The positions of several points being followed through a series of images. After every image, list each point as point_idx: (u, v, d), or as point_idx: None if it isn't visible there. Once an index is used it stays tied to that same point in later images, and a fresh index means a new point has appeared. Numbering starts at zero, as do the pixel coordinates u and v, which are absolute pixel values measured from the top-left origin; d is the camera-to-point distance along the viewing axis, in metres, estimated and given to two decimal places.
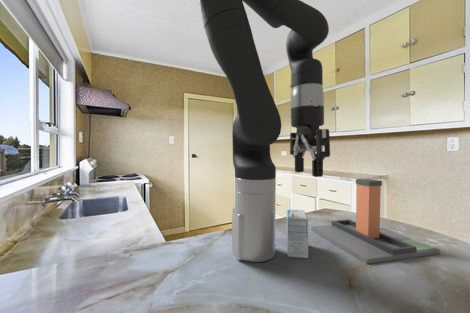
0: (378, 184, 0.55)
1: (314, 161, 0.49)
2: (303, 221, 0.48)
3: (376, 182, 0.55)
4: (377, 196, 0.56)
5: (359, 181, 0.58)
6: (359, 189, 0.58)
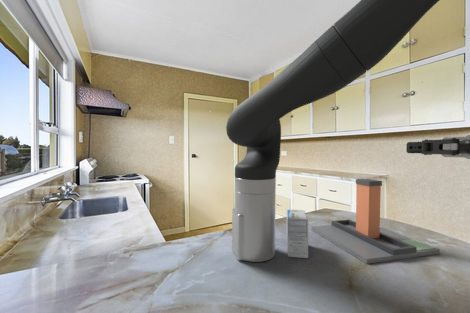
0: (378, 184, 0.55)
1: None
2: (303, 221, 0.48)
3: (376, 182, 0.55)
4: (377, 196, 0.56)
5: (359, 181, 0.58)
6: (359, 189, 0.58)
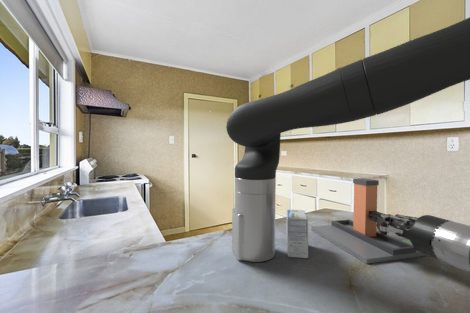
0: (375, 183, 0.56)
1: (380, 215, 0.53)
2: (303, 221, 0.48)
3: (373, 181, 0.56)
4: (373, 196, 0.57)
5: (356, 181, 0.59)
6: (357, 188, 0.59)
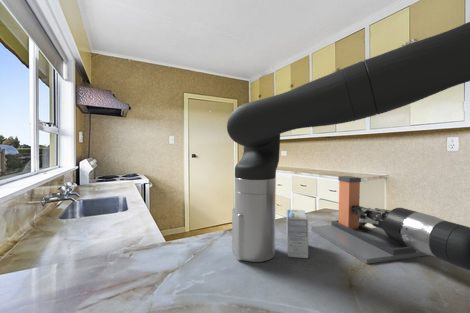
0: (357, 180, 0.62)
1: (361, 209, 0.59)
2: (303, 221, 0.48)
3: (355, 179, 0.62)
4: (356, 192, 0.62)
5: (341, 178, 0.64)
6: (341, 185, 0.64)
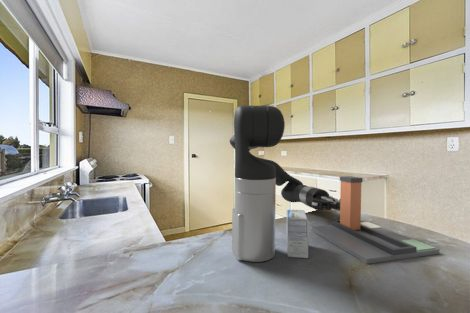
0: (359, 181, 0.61)
1: (337, 209, 0.69)
2: (303, 221, 0.48)
3: (357, 179, 0.61)
4: (358, 192, 0.62)
5: (342, 178, 0.64)
6: (343, 185, 0.64)
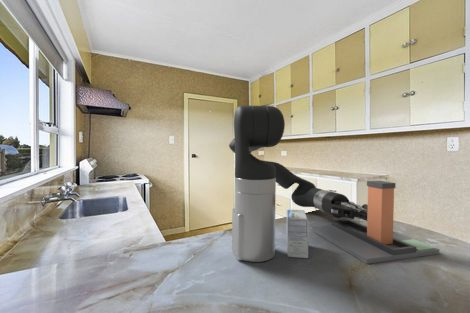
0: (391, 186, 0.52)
1: (362, 218, 0.59)
2: (303, 221, 0.48)
3: (389, 184, 0.52)
4: (390, 200, 0.52)
5: (371, 183, 0.54)
6: (371, 192, 0.54)
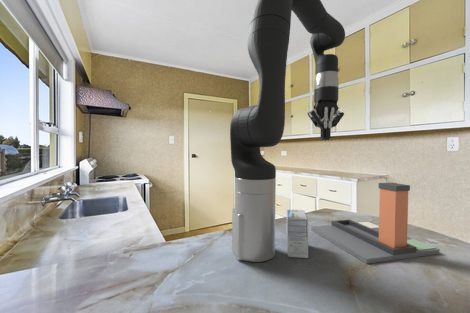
0: (406, 189, 0.49)
1: None
2: (303, 221, 0.48)
3: (403, 187, 0.48)
4: (404, 203, 0.49)
5: (383, 185, 0.51)
6: (383, 194, 0.51)
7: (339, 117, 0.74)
